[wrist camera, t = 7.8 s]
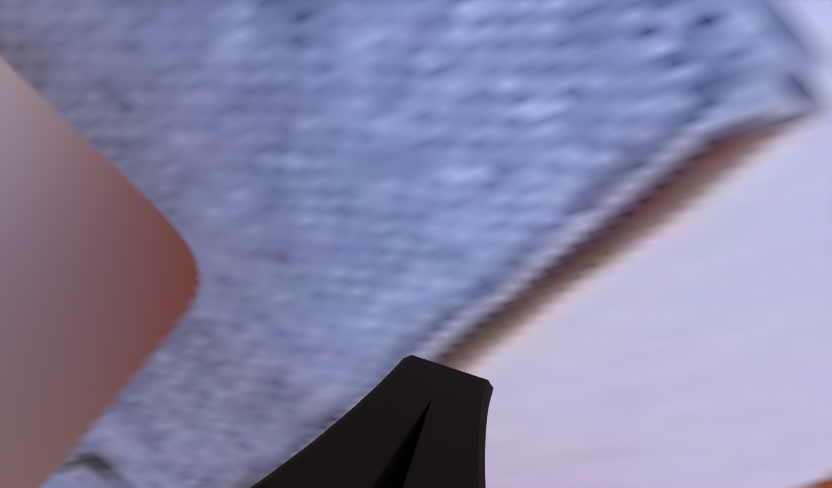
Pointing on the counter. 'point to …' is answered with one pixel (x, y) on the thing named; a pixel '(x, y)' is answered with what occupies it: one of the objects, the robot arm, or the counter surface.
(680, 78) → the counter surface
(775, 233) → the counter surface
